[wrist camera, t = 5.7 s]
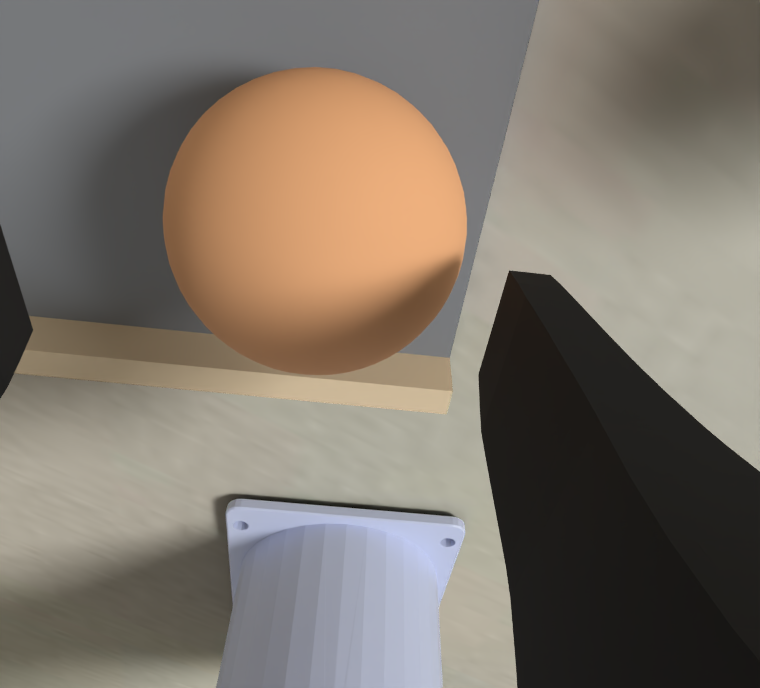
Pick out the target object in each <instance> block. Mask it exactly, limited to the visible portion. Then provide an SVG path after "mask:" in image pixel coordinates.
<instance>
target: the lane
mask: <svg viewBox="0 0 760 688" xmlns="http://www.w3.org/2000/svg"><path fill="white" fill-rule="evenodd" d="M538 3H539V0H0V225H1V228H2V231H3V235H4V238H5V241H6V244H7V247H8V251H9V254H10V257H11V260H12V263H13V267H14V270H15V273H16V276H17V279H18V283H19V286H20V289H21V292H22V295H23V299H24V302H25V305H26V308H27V311H28V315H29V318H30V321H31V324H32V327H33V332H32V334H31V337H30V339H29V341H28V344H27V346H26V348H25V351H24V353H23V355H22V357H21V360H20V362H19V364H18V366H17V368H16V370H15V372H14V373H16V374H26V375H37V376H47V377H58V378H69V379H79V380H90V381H100V382H111V383H122V384H132V385H143V386H153V387H164V388H174V389H185V390H196V391H206V392H217V393H227V394H238V395H248V396H259V397H270V398H280V399H291V400H301V401H312V402H323V403H333V404H344V405H354V406H365V407H375V408H386V409H397V410H407V411H418V412H428V413H439V414H447V411H448V407H449V403H450V400H451V396H452V392H453V389H452V378H451V368H450V354H451V350H452V346H453V342H454V338H455V334H456V330H457V326H458V322H459V318H460V314H461V310H462V306H463V302H464V298H465V294H466V290H467V286H468V282H469V278H470V274H471V270H472V266H473V262H474V258H475V254H476V250H477V246H478V242H479V238H480V234H481V230H482V226H483V222H484V218H485V214H486V210H487V206H488V202H489V198H490V194H491V190H492V186H493V182H494V178H495V174H496V170H497V166H498V162H499V158H500V154H501V150H502V146H503V142H504V138H505V134H506V130H507V126H508V123H509V119H510V115H511V111H512V107H513V103H514V99H515V95H516V91H517V87H518V83H519V79H520V75H521V71H522V67H523V63H524V59H525V55H526V51H527V47H528V43H529V39H530V35H531V31H532V27H533V23H534V19H535V15H536V11H537V7H538ZM306 67H322V68H333V69H339V70H343V71H348V72H352V73H356V74H359V75H361V76H364V77H366V78H369V79H371V80H374V81H376V82H378V83H381V84H382V85H384V86H386V87H388V88H389V89H391V90H393V91H395V92H396V93H398V94H399V95H400V96H402V97H403V98H404V99H406V100H407V101H408V102H409V103H411V104H412V105H413V106H414V107H415V108H416V109H417V110H419V111H420V112H421V114H422V115H423V116H424V117H425V118H426V119H427V120H428V121H429V122H430V123H431V124H432V126H433V127H434V128H435V130H436V131H437V133H438V134H439V136H440V137H441V139H442V140H443V142H444V143H445V145H446V147H447V148H448V150H449V152H450V154H451V156H452V159H453V161H454V163H455V165H456V168H457V171H458V174H459V177H460V181H461V184H462V187H463V191H464V197H465V204H466V214H467V236H466V243H465V250H464V256H463V261H462V265H461V268H460V272H459V275H458V277H457V280H456V282H455V284H454V286H453V289H452V291H451V293H450V295H449V297H448V299H447V301H446V302H445V304H444V306H443V308H442V309H441V310H440V312H439V313H438V315H437V316H436V317H435V319H434V320H433V321H432V322H431V323H430V324H429V325H428V326H427V327H426V329H425V330H424V331H423V332H422V333H421V334H420V335H419V336H418V337H417V338H415V339H414V340H413V341H412V342H411V343H410V344H408V345H407V346H406V347H404V348H403V349H401V350H400V351H399V352H397V353H395V354H394V355H392V356H390V357H388V358H387V359H385V360H382V361H380V362H378V363H376V364H374V365H371V366H368V367H365V368H363V369H359V370H355V371H351V372H347V373H341V374H333V375H305V374H296V373H289V372H284V371H280V370H276V369H273V368H270V367H267V366H265V365H262V364H260V363H257V362H255V361H253V360H251V359H249V358H247V357H245V356H243V355H241V354H239V353H238V352H236V351H235V350H233V349H232V348H230V347H229V346H228V345H226V344H225V343H224V342H222V341H221V340H220V339H219V338H217V337H216V336H215V335H214V334H213V333H212V332H211V331H210V330H209V329H208V328H207V327H206V326H205V325H204V324H203V323H202V321H201V320H200V319H199V318H198V316H197V315H196V314H195V313H194V311H193V310H192V309H191V307H190V306H189V305H188V303H187V301H186V299H185V298H184V296H183V294H182V293H181V291H180V289H179V286H178V284H177V282H176V280H175V277H174V275H173V272H172V269H171V267H170V264H169V260H168V256H167V251H166V247H165V241H164V233H163V208H164V197H165V189H166V185H167V181H168V177H169V173H170V169H171V167H172V165H173V162H174V160H175V158H176V155H177V153H178V151H179V149H180V147H181V145H182V143H183V141H184V140H185V138H186V136H187V135H188V133H189V131H190V130H191V128H192V127H193V126H194V125H195V123H196V122H197V121H198V120H199V119H200V117H201V116H202V115H203V114H204V113H205V112H206V111H207V110H208V109H209V108H210V107H211V106H213V105H214V104H215V103H216V102H217V101H218V100H219V99H221V98H222V97H224V96H225V95H227V94H228V93H229V92H231V91H232V90H234V89H235V88H237V87H239V86H241V85H243V84H245V83H247V82H249V81H251V80H253V79H255V78H258V77H261V76H264V75H267V74H270V73H273V72H277V71H282V70H288V69H293V68H306Z"/></svg>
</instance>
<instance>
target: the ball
mask: <svg viewBox="0 0 760 688" xmlns="http://www.w3.org/2000/svg"><path fill="white" fill-rule="evenodd" d="M163 233H164V241H165V247H166V251H167V256H168V260H169V264H170V267H171V269H172V272H173V275H174V277H175V280H176V282H177V284H178V286H179V289H180V291H181V293H182V294H183V296H184V298H185V299H186V301H187V303H188V305H189V306H190V307H191V309H192V310H193V311H194V313H195V314H196V315H197V316H198V318H199V319H200V320H201V321H202V323H203V324H204V325H205V326H206V327H207V328H208V329H209V330H210V331H211V332H212V333H213V334H214V335H215V336H216V337H217V338H219V339H220V340H221V341H222V342H224V343H225V344H226V345H228V346H229V347H230V348H232V349H233V350H235V351H236V352H238V353H239V354H241V355H243V356H245V357H247V358H249V359H251V360H253V361H255V362H257V363H260V364H262V365H265V366H267V367H270V368H273V369H276V370H280V371H284V372H289V373H296V374H305V375H333V374H341V373H347V372H351V371H355V370H359V369H363V368H365V367H368V366H371V365H374V364H376V363H378V362H380V361H382V360H385V359H387V358H388V357H390V356H392V355H394V354H395V353H397V352H399V351H400V350H401V349H403V348H404V347H406V346H407V345H408V344H410V343H411V342H412V341H413V340H414V339H415V338H417V337H418V336H419V335H420V334H421V333H422V332H423V331H424V330H425V329H426V327H427V326H428V325H429V324H430V323H431V322H432V321H433V320H434V319H435V317H436V316H437V315H438V313H439V312H440V310H441V309H442V308H443V306H444V304H445V302H446V301H447V299H448V297H449V295H450V293H451V291H452V289H453V286H454V284H455V282H456V280H457V277H458V275H459V272H460V268H461V265H462V261H463V256H464V250H465V243H466V236H467V214H466V204H465V197H464V191H463V187H462V184H461V181H460V177H459V174H458V171H457V168H456V165H455V163H454V161H453V159H452V156H451V154H450V152H449V150H448V148H447V147H446V145H445V143H444V142H443V140H442V139H441V137H440V136H439V134H438V133H437V131H436V130H435V128H434V127H433V126H432V124H431V123H430V122H429V121H428V120H427V119H426V118H425V117H424V116H423V115H422V114H421V112H420V111H419V110H417V109H416V108H415V107H414V106H413V105H412V104H411V103H409V102H408V101H407V100H406V99H404V98H403V97H402V96H400V95H399V94H398V93H396V92H395V91H393V90H391V89H389V88H388V87H386V86H384V85H382V84H381V83H378V82H376V81H374V80H371V79H369V78H366V77H364V76H361V75H359V74H356V73H352V72H348V71H343V70H339V69H333V68H322V67H306V68H293V69H288V70H282V71H277V72H273V73H270V74H267V75H264V76H261V77H258V78H255V79H253V80H251V81H249V82H247V83H245V84H243V85H241V86H239V87H237V88H235V89H234V90H232V91H231V92H229V93H228V94H227V95H225V96H224V97H222V98H221V99H219V100H218V101H217V102H216V103H215V104H214V105H213V106H211V107H210V108H209V109H208V110H207V111H206V112H205V113H204V114H203V115H202V116H201V117H200V119H199V120H198V121H197V122H196V123H195V125H194V126H193V127H192V128H191V130H190V131H189V133H188V135H187V136H186V138H185V140H184V141H183V143H182V145H181V147H180V149H179V151H178V153H177V155H176V158H175V160H174V162H173V165H172V167H171V169H170V173H169V177H168V181H167V185H166V189H165V197H164V208H163Z"/></svg>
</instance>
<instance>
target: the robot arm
mask: <svg viewBox="0 0 760 688" xmlns="http://www.w3.org/2000/svg"><path fill="white" fill-rule="evenodd" d="M32 332H33V327H32V324H31V321H30V318H29V315H28V311H27V308H26V305H25V302H24V299H23V295H22V292H21V289H20V286H19V283H18V279H17V276H16V273H15V270H14V267H13V263H12V260H11V257H10V254H9V251H8V247H7V244H6V241H5V238H4V235H3V231H2V228H1V225H0V398H1V396H2V395H3V393H4V392H5V390H6V388H7V387H8V385H9V383H10V381H11V378H12V376H13V374H14V372H15V370H16V368H17V366H18V364H19V362H20V360H21V357H22V355H23V353H24V351H25V348H26V346H27V344H28V341H29V339H30V337H31V334H32ZM479 396H480V417H481V433H482V439H483V444H484V450H485V456H486V461H487V467H488V472H489V478H490V483H491V489H492V494H493V499H494V505H495V510H496V516H497V521H498V526H499V532H500V537H501V542H502V548H503V553H504V558H505V564H506V570H507V577H508V584H509V591H510V598H511V610H512V622H513V634H514V646H515V659H516V672H517V687H518V688H760V472H759V471H758V470H757V469H756V468H754V467H753V466H752V465H751V464H749V463H748V462H747V461H745V460H744V459H743V458H742V457H740V456H739V455H738V454H737V453H735V452H734V451H733V450H732V449H730V448H729V447H728V446H726V445H725V444H724V443H723V442H722V441H720V440H719V439H718V438H717V437H716V436H714V435H713V434H712V433H711V432H710V431H709V430H707V429H706V428H705V427H704V426H703V425H702V424H700V423H699V422H698V421H697V420H696V419H695V418H694V417H693V416H692V415H690V414H689V413H688V412H687V411H686V410H685V409H684V408H683V407H682V406H681V405H679V404H678V403H677V402H676V401H675V400H674V399H673V398H672V397H671V396H670V395H668V394H667V393H666V392H665V391H664V390H663V389H662V388H661V387H660V386H659V385H658V384H657V383H656V382H655V381H654V380H653V379H652V378H651V377H650V376H649V375H647V374H646V373H645V372H644V371H643V370H642V369H641V368H640V367H639V366H638V365H637V364H636V363H635V362H634V361H633V360H632V359H631V358H630V357H629V356H628V355H627V354H626V353H625V352H624V350H623V349H622V348H621V347H620V346H619V345H618V344H617V343H616V342H615V341H614V340H613V339H612V338H611V337H610V336H609V335H608V334H607V333H606V332H605V331H604V330H603V329H602V328H601V327H600V325H599V324H598V323H597V322H596V321H595V320H594V319H593V318H592V317H591V316H590V315H589V314H588V313H587V312H586V311H585V310H584V308H583V307H582V306H581V305H580V304H579V303H578V302H577V301H576V300H575V299H574V298H573V297H572V296H571V295H570V294H569V293H568V292H567V291H566V289H565V288H564V287H563V286H562V285H561V284H560V283H559V282H557V281H556V280H555V279H554V278H553V277H552V276H551V275H545V274H536V273H527V272H518V271H509V273H508V276H507V280H506V283H505V287H504V290H503V293H502V297H501V300H500V304H499V307H498V310H497V314H496V317H495V321H494V324H493V327H492V331H491V334H490V337H489V341H488V344H487V348H486V351H485V354H484V358H483V361H482V365H481V368H480V371H479ZM225 516H226V528H227V540H228V553H229V565H230V577H231V590H232V602H233V608H232V613H231V618H230V623H229V628H228V633H227V637H226V642H225V647H224V652H223V657H222V662H221V666H220V671H219V676H218V681H217V686H216V688H443V683H442V663H441V644H440V625H439V605H440V602H441V600H442V597H443V594H444V591H445V589H446V586H447V583H448V580H449V577H450V575H451V572H452V569H453V566H454V564H455V561H456V558H457V555H458V553H459V550H460V547H461V544H462V542H463V539H464V536H465V524H464V522H463V521H462V520H461V519H459V518H457V517H452V516H441V515H429V514H417V513H406V512H394V511H382V510H370V509H358V508H347V507H335V506H323V505H311V504H300V503H288V502H276V501H264V500H253V499H235V500H232V501H230V502H229V503H228V506H227V510H226V514H225Z"/></svg>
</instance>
